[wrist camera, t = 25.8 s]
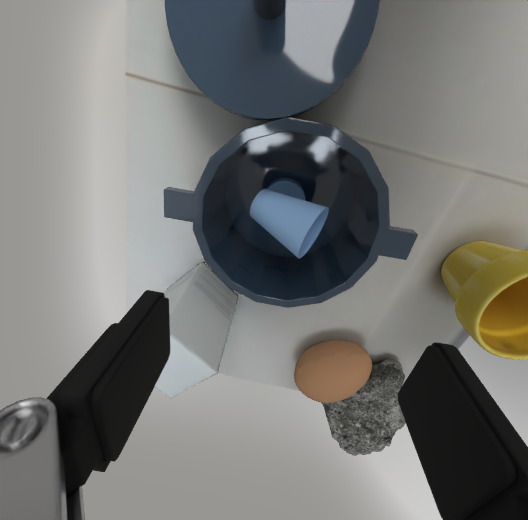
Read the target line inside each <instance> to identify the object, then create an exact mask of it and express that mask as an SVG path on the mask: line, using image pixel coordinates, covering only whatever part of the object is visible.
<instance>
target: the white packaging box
mask: <svg viewBox="0 0 528 520" xmlns="http://www.w3.org/2000/svg"><path fill="white" fill-rule="evenodd" d="M164 295H165V298H168V299H169V315H170V355H169V359H168V361H167V363H166V365H165V367H164V369H163V371H162V373H161V375H160V377H159V379H158V381H157V383H156V385H155V387H156V388H157V389H159V390H160V391H161V392H162V393H164V394H165V395H166V396H168V397H169V398H173V397H175V396H176V395H178V394H180V393H182V392H183V391H185V390H187V389H189V388H191V387H193V386H194V385H196V384H198V383H200V382H202V381H204V380H206V379H208V378H210V377H211V376H213V375H215V374H217V373H218V370H219V365H220V362H221V358H222V354H223V351H224V347H225V343H226V340H227V336H228V333H229V329H230V326H231V322H232V318H233V315H234V311H235V307H236V303H237V300H238V296H237V295H236V294H235V293H234V292H233V291H232V290H230V289H229V288H228V287H227V286H226V285H225V284H224V283H223V282H222V281H221V280H220V279H219V278H218V277H217V276H216V275H215V274H214V273H213V272H212V271H211V270H210V269H209V268H208V267H207V266H206V265H205V264H204V263H203V262H201V263H200V264H199V265H198V266H196V267H195V268H194V269H192V270H191V271H190V272H188V273H187V274H186V275H185V276H183V277H182V278H181V279H180V280H178V281H177V282H176V283H174V284H173V285H172V286H171V287H169V288H168V289H167V291H166V292H165V294H164Z"/></svg>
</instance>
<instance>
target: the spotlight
mask: <svg viewBox="0 0 528 520" xmlns="http://www.w3.org/2000/svg"><path fill="white" fill-rule="evenodd" d="M328 212H329V208H328V207H325V206H321V205H318V204H315V203H311V202H308V201H305V194H304V191H303V188H302V187H301V185H300V184H299V183H298V182H297V181H295V180H293V179H291V178H279V179H276V180H274V181H273V182H271V183H270V184H269V186H268V187H267V189H263V190H261V191H260V192H259V193H258V194H257V195H256V197H255V198H254V200H253V202H252V205H251V208H250V216H251V217H252V218H253V219H254V220H255V221H256V222H258V223H259V224H260V225H261V226H262V227H263V228H264V229H266V230H267V231H268V232H269V233H270V234H271V235H272V236H274V237H275V238H276V239H277V240H278V241H279V242H280V243H282V244H283V245H284V246H285V247H286V248H287V249H288V250H290V251H291V252H292V253H293V254H294V255H295V256H296V257H298V258H301V257H303V256H304V255H305V254H306V252H307V251H308V250H309V249H310V247H311V246H312V244H313V243H314V241H315V240H316V238H317V237H318V235H319V233H320V231H321V229H322V227H323V225H324V223H325V221H326V219H327V216H328Z"/></svg>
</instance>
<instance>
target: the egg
mask: <svg viewBox="0 0 528 520" xmlns="http://www.w3.org/2000/svg"><path fill="white" fill-rule="evenodd" d="M371 369H372V360H371V357H370V355H369V353H368V352H367V351H366V350H365V349H364V348H363V347H361V346H360V345H358V344H356V343H353V342H349V341H343V340H330V341H324V342H321V343H318V344H316V345H314V346H311V347H310V348H309V349H307V350H306V351H305V352H304V353H303V354H302V355H301V357H300V358H299V360H298V362H297V364H296V367H295V372H294V378H295V382H296V385H297V387H298V388H299V390H300V391H301V392H302V393H303V394H305V395H306V396H307V397H309V398H311V399H312V400H315V401H318V402H323V403H332V402H337V401H341V400H344V399H346V398H348V397H350V396H352V395H353V394H355V393H356V392H357V391H358V390H359V389H360V388H361V387H362V386H363V385H364V384H365V382H366V381H367V380H368V378H369V376H370V373H371Z"/></svg>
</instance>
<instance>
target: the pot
mask: <svg viewBox="0 0 528 520" xmlns="http://www.w3.org/2000/svg"><path fill="white" fill-rule="evenodd" d="M279 178H291V179H293V180H295V181H297V182H298V183H299V184H300V185H301V187H302V188H303V191H304V194H305V201H308V202H311V203H315V204H318V205H321V206H325V207H328V208H329V212H328V216H327V219H326V221H325V223H324V225H323V227H322V229H321V231H320V233H319V235H318V237H317V238H316V240H315V241H314V243H313V244H312V246H311V247H310V249H309V250H308V251H307V252H306V254H305V255H304V256H303V257H301V258H298V257H296V256H295V255H294V254H293V253H292V252H291V251H290V250H288V249H287V248H286V247H285V246H284V245H283V244H282V243H280V242H279V241H278V240H277V239H276V238H275V237H274V236H272V235H271V234H270V233H269V232H268V231H267V230H266V229H264V228H263V227H262V226H261V225H260V224H259V223H258V222H256V221H255V220H254V219H253V218H252V217H251V216H250V208H251V205H252V202H253V200H254V198H255V197H256V195H257V194H258V193H259V192H260V191H261V190H263V189H267V187H268V186H269V184H270V183H271V182H273V181H274V180H276V179H279ZM164 217H167V218H173V219H178V220H184V221H190V222H193V231H194V234H195V236H196V239H197V241H198V244H199V247H200V249H201V252H202V255H203V257H204V260H205V262H206V263H207V264H208V265H209V266H210V267H211V269H212V270H213V271H214V272H215V273H216V274H217V275H218V276H219V278H220V279H221V280H222V281H223V282H224V283H225V284H226V285H227V286H228V287H230V288H232V289H233V290H235V291H237V292H239V293H241V294H243V295H244V296H246V297H248V298H250V299H252V300H254V301H256V302H260V303H265V304H271V305H277V306H282V307H295V306H302V305H309V304H316V303H322V302H323V301H325V300H327V299H329V298H331V297H333V296H335V295H337V294H339V293H341V292H343V291H345V290H347V289H349V288H351V287H352V286H353V285H354V284H355V283H356V282H357V281H358V280H359V279H360V278H361V277H362V276H363V275H364V274H365V273H366V272H367V271H368V270H369V268H370V267H371V266H372V265H373V264H374V263H375V262H376V260H377V258H378V255H381V256H387V257H393V258H398V259H404V260H406V259H407V257H408V255H409V253H410V251H411V249H412V246H413V244H414V242H415V240H416V238H417V236H418V234H417V233H416V232H415V231H414V230H410V229H404V228H399V227H393V226H390V219H389V190H388V186H387V184H386V182H385V181H384V179H383V177H382V175H381V173H380V171H379V169H378V167H377V165H376V163H375V161H374V160H373V158H372V156H371V154H370V152H369V151H368V150H367V149H365V148H364V147H363V146H361V145H360V144H359V143H357V142H356V141H354V140H353V139H352V138H350V137H349V136H348V135H346V134H345V133H343V132H342V131H341V130H339V129H338V128H337V127H335V126H333V125H330V124H325V123H319V122H313V121H307V120H302V119H296V118H290V117H288V118H287V117H286V118H282V119H279V120H275V121H271V122H268V123H264V124H260V125H257V126H253V127H249V128H246V129H244V130H242V131H241V132H240V133H239V134H237V135H236V136H235V137H234V138H233V139H231V140H230V141H229V142H228V143H227V144H225V145H224V146H223V147H222V148H221V149H220V150H218V151H217V152H216V153H215V154H214V155H212V156H211V158H210V160H209V162H208V164H207V166H206V168H205V170H204V172H203V174H202V176H201V179H200V181H199V183H198V185H197V187H196V189H195V191H189V190H183V189H178V188H172V187H168V188H166V189H164Z"/></svg>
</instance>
